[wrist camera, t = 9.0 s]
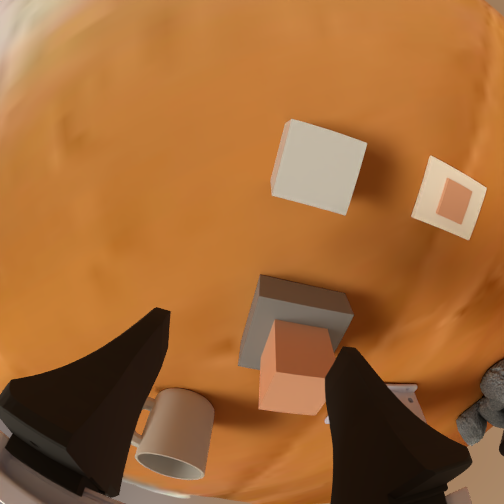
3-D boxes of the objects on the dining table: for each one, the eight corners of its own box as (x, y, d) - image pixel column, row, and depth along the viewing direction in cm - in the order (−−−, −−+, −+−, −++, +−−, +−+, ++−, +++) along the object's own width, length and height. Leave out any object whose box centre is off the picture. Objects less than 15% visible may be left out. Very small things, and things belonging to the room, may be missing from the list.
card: (484, 187, 17) (488, 188, 16) (467, 239, 19) (470, 241, 18) (429, 155, 17) (433, 156, 16) (410, 216, 19) (414, 218, 18)
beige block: (342, 140, 17) (367, 143, 12) (326, 195, 19) (345, 215, 14) (284, 123, 17) (291, 118, 12) (270, 180, 18) (271, 195, 14)
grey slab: (344, 293, 21) (354, 314, 19) (315, 354, 24) (319, 378, 22) (260, 274, 21) (259, 295, 18) (241, 341, 24) (238, 365, 21)
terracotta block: (308, 365, 21) (315, 415, 16) (260, 357, 21) (258, 409, 16) (327, 328, 19) (340, 379, 15) (274, 319, 19) (275, 371, 15)
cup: (202, 426, 31) (190, 483, 22) (130, 395, 29) (106, 451, 21) (225, 402, 28) (215, 470, 20) (142, 366, 26) (113, 431, 18)
